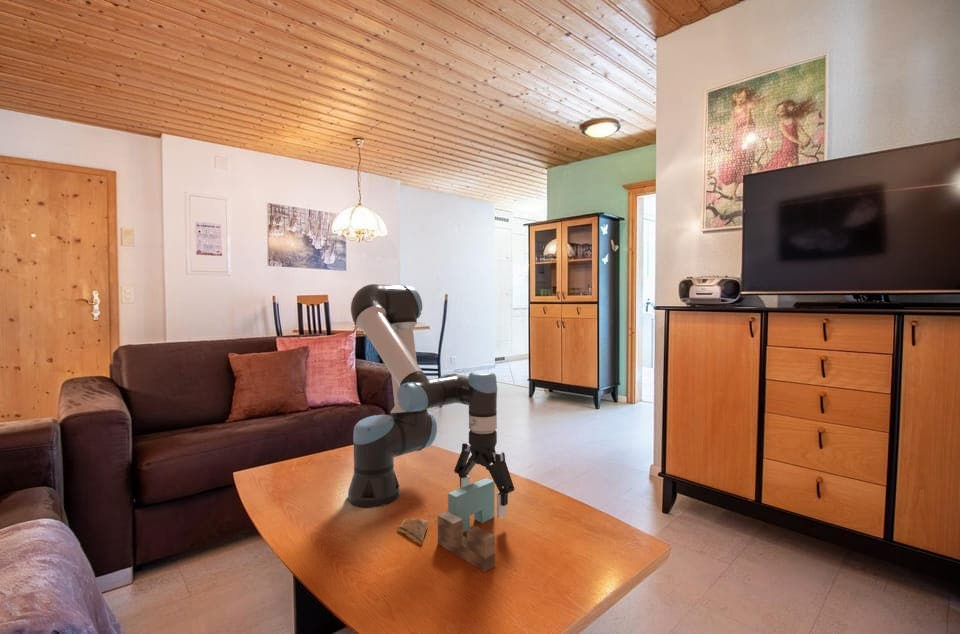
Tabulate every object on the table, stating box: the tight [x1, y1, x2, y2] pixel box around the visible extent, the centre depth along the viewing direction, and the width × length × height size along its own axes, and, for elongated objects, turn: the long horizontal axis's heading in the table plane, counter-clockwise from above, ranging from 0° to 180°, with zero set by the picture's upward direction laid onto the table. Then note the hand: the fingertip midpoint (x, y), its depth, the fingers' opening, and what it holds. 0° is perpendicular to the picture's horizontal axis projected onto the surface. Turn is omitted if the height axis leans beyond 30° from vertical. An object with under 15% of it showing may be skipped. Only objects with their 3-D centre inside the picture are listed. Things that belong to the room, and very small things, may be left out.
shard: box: [396, 518, 429, 546], centre depth 114 cm, size 11×8×2 cm
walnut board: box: [437, 510, 496, 573], centre depth 104 cm, size 16×3×7 cm, turn 45°
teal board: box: [447, 477, 495, 534], centre depth 118 cm, size 14×3×10 cm, turn 135°
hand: (482, 508), depth 121 cm, fingers open, 13 cm apart
